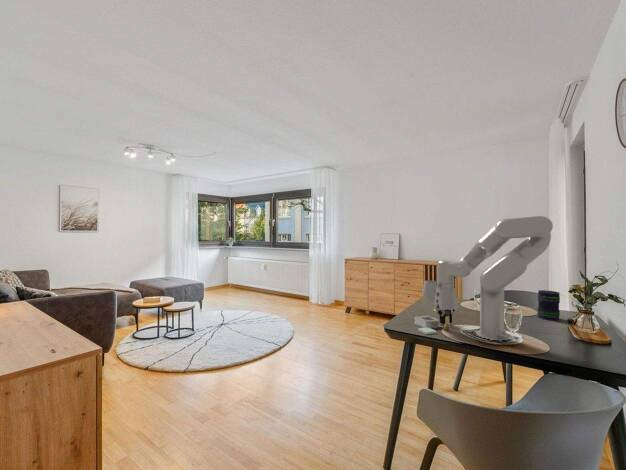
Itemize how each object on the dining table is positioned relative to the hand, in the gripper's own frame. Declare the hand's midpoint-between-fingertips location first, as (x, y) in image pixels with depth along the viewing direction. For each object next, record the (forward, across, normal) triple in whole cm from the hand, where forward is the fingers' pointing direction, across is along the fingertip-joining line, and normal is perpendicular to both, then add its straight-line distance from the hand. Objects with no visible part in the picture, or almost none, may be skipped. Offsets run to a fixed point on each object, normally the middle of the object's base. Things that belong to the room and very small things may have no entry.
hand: (445, 322), depth 149 cm
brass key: (+3, 0, 0) cm, 3 cm away
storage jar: (+4, +71, -1) cm, 71 cm away
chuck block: (+3, -4, +10) cm, 11 cm away
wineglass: (+3, +5, +17) cm, 18 cm away
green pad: (+3, -11, 0) cm, 12 cm away
